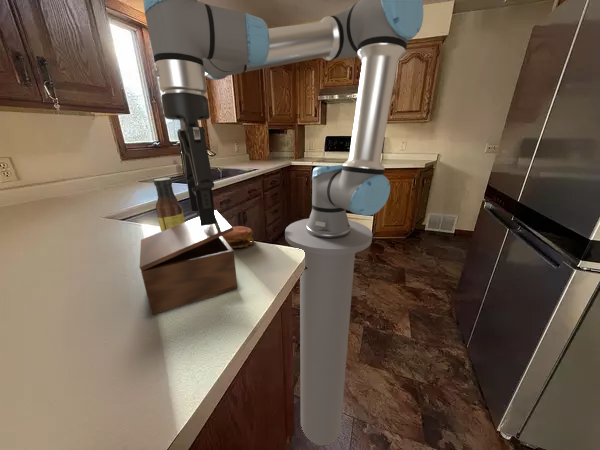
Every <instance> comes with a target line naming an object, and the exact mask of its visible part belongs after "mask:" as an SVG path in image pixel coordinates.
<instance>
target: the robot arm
mask: <svg viewBox="0 0 600 450" xmlns="http://www.w3.org/2000/svg"><path fill="white" fill-rule="evenodd" d="M142 1H143V8H144V17H145V21H146V26H147V33H148V37H149V42H150V47H151V52H152V56H153V57H152V58H153V62H154V64H155V65H154V67H155V69H154V68H153V69H151V75H152V76H153V77H157V83H158V88H159V90H160V91H161V92H162V93H163V94H161V96H160V102H161V107H162V112H163V116H164V118H165V119H168V120H173V121H179V126H180V128H178V130H176V132H177V134H176V135H177V138H178V142H179V146H180V147H179V148H180V151H181V157H182V165H183V175H184V176H185V180H186V185H187V191H188V197H189V203H190V209H191V210H190V211H191V212H192V213H193V212H198V217H199V219H200V225H201V226H205V225H211V224H216V217H215V204H214V203H215V202H214V196H213V189H214V188H215V183H214V177H213V173H212V168H211V167H212V166H211V162H210V158H209V153H208V152H209V151H208V146H207V140H206V134H205V133H206V130H205V127H204V126H200V124H199V121H206V120H210V118H211V114H210V107H209V99H208V98H207V96H205V95H207V93H208V87H207V79H206V77H207V78H209V79H210V80H213V81H220V80H224V79H225V78H227V77H228V76H234V75H239V74H242V73H248V72H253V71H258V70H262V69H268V68H273V67H278V66H284V65H290V64H295V63H300V62H304V61H310V60H316V59H320V58H322V59H323V60H325V61H333V60H340V59H350V58H351V59H352V58H358V59H359V60H360V61H361V67H360V76H359V82H358V88H357V89H358V90H357V97H356V105H355V112H354V119H353V125H352V127H353V128H352V132H351V133H352V134H351V140H350V148H349V153H348V159H347V160H346V161H345V162H343V163H342V164H336V165H322V166H315V167H314V168H313V170H312V174H311V175H312V176H311V181H312V182H311V183H312V184H311V189H312V190H311V192H312V193H311V212H310V215H309V217H308V219H309V221H308V223H307V232H308V233H309V234H310V235H312V236H314V237H318V238H323V239H337V238H342V237H345V236H347V235H348V234H349V233H350V225H349V222H348V220H349V219H348V214H347V211H348V212H350V213H353V214H355V215H361V216H364V217H368V216H373V215H376V214H377V213H378V212H380V211H381V209H382V208H383V207H384V206H385V205H386V204H387V201H388V199H389V198H390V194H391V184H390V181H389V178H387V177H386V176H385V169H386V168H385V166H384V165H383V164H382V162H381V161H382V160H381V159H382V153H383V148H384V142H385V136H386V131H387V126H388V125H387V124H388V119H389V113H390V107H391V103H392V102H391V101H392V95H393V91H394V85H395V79H396V73H397V67H398V63H399V62H400V61H401V60H402V59H403V58H404V57H405V56H406V53H407V49H408V42H409V41H410V40H413V38H414V37H416V36H417V35H418V33H419V32H420V31H421V29H422V26H423V22H424V3H423V2H424V1H423V0H358V1H356V2H355V3H354V4H352V5H351V6H349V7H347V8H345V9H344V10H342V11H341V12H338V13H336V14H333V15H327V16H324V17H322V18H321V20H320V21H318V22H311V23H310V22H309V23H303V24H295V25H286V26H278V27H271V28H268V24H267V23H266V22H265V21H266V20H264V19H263V18H261V17H259V16H255V15H252V14H249V13H248V12H242V11H236V10H234V9H233V10H232V9H228V8H224V7H220V6H216V5H211V4H207V3H204V2H202V1H199V0H142ZM194 191H195V193H196V195H195V194H194V193H193V192H194Z"/></svg>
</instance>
